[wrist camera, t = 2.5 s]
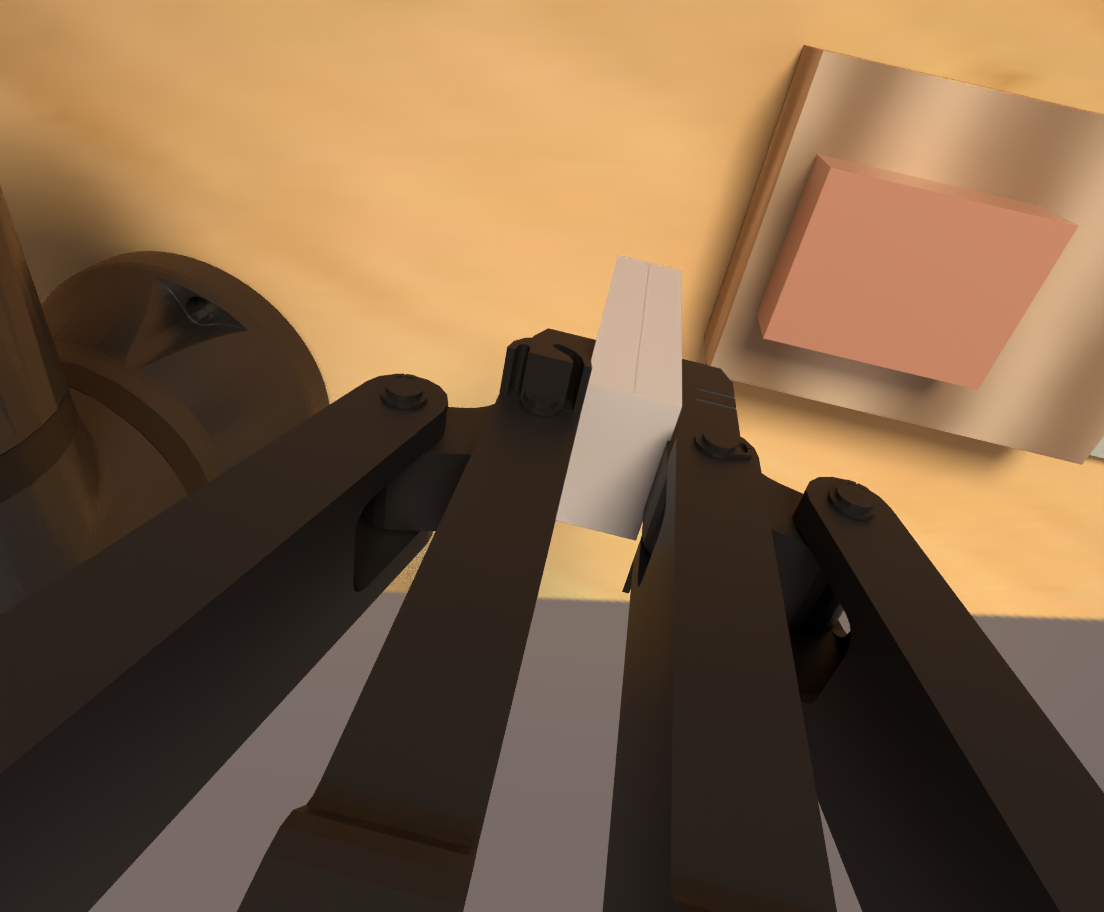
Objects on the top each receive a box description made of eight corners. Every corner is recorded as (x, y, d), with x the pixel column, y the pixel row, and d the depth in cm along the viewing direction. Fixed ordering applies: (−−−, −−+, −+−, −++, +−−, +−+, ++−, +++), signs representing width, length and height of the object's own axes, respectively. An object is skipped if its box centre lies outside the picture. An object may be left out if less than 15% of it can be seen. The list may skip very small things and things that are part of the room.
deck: (704, 337, 32) (707, 374, 29) (804, 45, 26) (823, 50, 22) (1039, 417, 32) (1082, 464, 29) (1229, 143, 25) (1312, 163, 22)
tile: (756, 313, 27) (763, 338, 25) (816, 153, 24) (830, 167, 22) (954, 360, 27) (977, 389, 25) (1043, 206, 24) (1078, 225, 22)
